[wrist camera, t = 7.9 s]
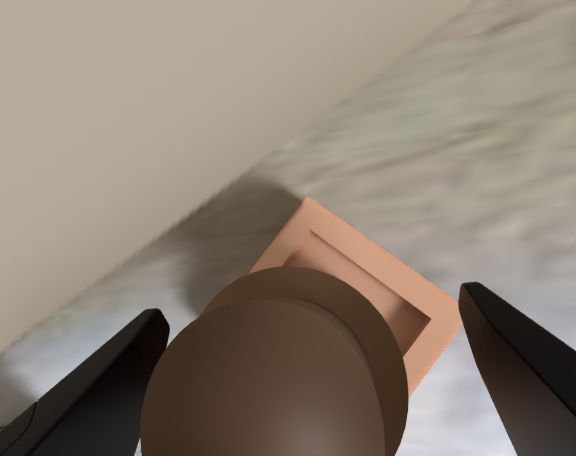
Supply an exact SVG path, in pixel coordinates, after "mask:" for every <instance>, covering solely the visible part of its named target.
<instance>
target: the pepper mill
mask: <svg viewBox="0 0 576 456" xmlns="http://www.w3.org/2000/svg"><path fill="white" fill-rule="evenodd" d="M408 397H409V391H408V381H407V373H406V369H405V364H404V360H403V357H402V354H401V351H400V348H399V345H398V343H397V341H396V339H395V337H394V335H393V333H392V331H391V329H390V327H389V325H388V324H387V322H386V321H385V319H384V318H383V316H382V315H381V314H380V312H379V311H378V310H377V309H376V308H375V307H374V305H373V304H372V303H371V302H370V301H369V300H368V299H367V298H366V297H364V296H363V295H362V294H361V293H360V292H359V291H358V290H356V289H355V288H353V287H352V286H350V285H349V284H348V283H346V282H344V281H342V280H340V279H338V278H337V277H335V276H333V275H330V274H327V273H325V272H322V271H319V270H315V269H310V268H306V267H296V266H281V267H273V268H267V269H262V270H259V271H256V272H253V273H250V274H248V275H246V276H244V277H242V278H240V279H238V280H236V281H235V282H233V283H232V284H230V285H229V286H227V287H226V288H225V289H224V290H222V291H221V292H220V293H219V294H218V295H217V296H216V297H215V298H214V299H213V300H212V301H211V302H210V303H209V304H208V305H207V307H206V308H205V310H204V311H203V312H202V314H201V315H200V317H199V318H197V319H196V320H194V321H193V322H191V323H190V324H189V325H188V326H187V327H185V328H184V329H183V330H182V331H181V332H180V333H179V334H178V335H177V336H176V337H175V338H174V339H173V340H172V342H171V343H170V344H169V345H168V347H167V348H166V350H165V351H164V352H163V354H162V355H161V357H160V359H159V361H158V363H157V365H156V366H155V368H154V370H153V373H152V375H151V378H150V380H149V383H148V386H147V390H146V393H145V397H144V401H143V407H142V413H141V427H140V439H141V452H142V456H395V454H396V452H397V449H398V447H399V445H400V443H401V439H402V436H403V433H404V430H405V426H406V420H407V414H408Z"/></svg>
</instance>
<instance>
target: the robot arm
mask: <svg viewBox="0 0 576 456" xmlns="http://www.w3.org/2000/svg"><path fill="white" fill-rule="evenodd" d="M458 308H459V313H460V316H461V319H462V322H463V325H464V328H465V331H466V335H467V338H468V341H469V344H470V347H471V350H472V353H473V356H474V359H475V362H476V365H477V367H478V370H479V372H480V374H481V376H482V379H483V381H484V383H485V385H486V387H487V390H488V392H489V394H490V396H491V398H492V401H493V403H494V405H495V407H496V409H497V412H498V414H499V416H500V418H501V420H502V423H503V425H504V427H505V429H506V432H507V434H508V436H509V438H510V440H511V443H512V445H513V447H514V449H515V451H516V454H517V456H576V351H575V350H574V349H572V348H571V347H570V346H568V345H567V344H565V343H564V342H563V341H561V340H560V339H558V338H557V337H556V336H554V335H553V334H551V333H550V332H549V331H547V330H546V329H544V328H543V327H541V326H540V325H539V324H537V323H536V322H534V321H533V320H532V319H530V318H529V317H527V316H526V315H525V314H523V313H522V312H520V311H519V310H518V309H516V308H515V307H513V306H512V305H510V304H509V303H508V302H506V301H505V300H503V299H502V298H501V297H499V296H498V295H496V294H495V293H494V292H492V291H491V290H489V289H488V288H486V287H485V286H484V285H482V284H481V283H479V282H467V283H462V284H461V287H460V294H459V301H458ZM169 333H170V327H169V324H168V322H167V320H166V319H165V317H164V315H163V314H162V312H161V310H159V309H157V308H154V309H146V310H144V311H143V312H142V313H141V314H139V315H138V316H137V317H136V318H135V319H133V320H132V321H131V322H130V323H129V324H128V325H126V326H125V327H124V328H123V329H122V330H120V331H119V332H118V333H117V334H116V335H114V336H113V337H112V338H111V339H110V340H109V341H107V342H106V343H105V344H104V345H103V346H101V347H100V348H99V349H98V350H97V351H95V352H94V353H93V354H92V355H91V356H90V357H88V358H87V359H86V360H85V361H84V362H82V363H81V364H80V365H79V366H78V367H76V368H75V369H74V370H73V371H72V372H71V373H69V374H68V375H67V376H66V377H65V378H63V379H62V380H61V381H60V382H59V383H57V384H56V385H55V386H54V387H53V388H52V389H50V390H49V391H48V392H47V393H46V394H44V395H43V396H42V397H41V398H40V399H39V400H38V402H35V403H34V404H32V405H31V406H30V407H29V408H28V409H27V410H25V411H24V412H23V413H22V414H21V415H19V416H18V417H17V418H16V419H15V420H13V421H12V422H11V423H10V424H8V425H7V426H6V427H5V428H4V429H2V430H1V431H0V456H134V454H135V451H136V448H137V445H138V442H139V439H140V427H141V413H142V407H143V401H144V397H145V393H146V390H147V386H148V383H149V380H150V378H151V375H152V373H153V370H154V368H155V366H156V365H157V363H158V361H159V359H160V357H161V355H162V354H163V352H164V351H165V350H166V347H167V342H168V338H169Z"/></svg>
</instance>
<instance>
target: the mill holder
mask: <svg viewBox="0 0 576 456" xmlns="http://www.w3.org/2000/svg"><path fill="white" fill-rule="evenodd" d="M281 266H296V267H306V268H310V269H315V270H319V271H322V272H325V273H327V274H330V275H333V276H335V277H337V278H338V279H340V280H342V281H344V282H346V283H348V284H349V285H350V286H352V287H353V288H355V289H356V290H358V291H359V292H360V293H361V294H362V295H363V296H364V297H366V298H367V299H368V300H369V301H370V302H371V303H372V304H373V305H374V307H375V308H376V309H377V310H378V311H379V312H380V314H381V315H382V316H383V318H384V319H385V321H386V322H387V324H388V325H389V327H390V329H391V331H392V333H393V335H394V337H395V339H396V341H397V343H398V345H399V348H400V351H401V354H402V357H403V360H404V364H405V369H406V373H407V381H408V391H409V397H410V396H411V394H412V393H413V392H414V390H415V389H416V388H417V386H418V385H419V384H420V382H421V381H422V380H423V378H424V377H425V375H426V374H427V373H428V371H429V370H430V369H431V367H432V366H433V365H434V363H435V362H436V360H437V359H438V358H439V356H440V355H441V354H442V352H443V351H444V350H445V348H446V347H447V345H448V344H449V343H450V341H451V340H452V339H453V337H454V336H455V335H456V333H457V332H458V330H459V329H460V328H461V326H462V325H463V322H462V319H461V316H460V313H459V308H458V302H457V301H456V300H454V299H453V298H451V297H450V296H449V295H447V294H446V293H444V292H443V291H442V290H440V289H439V288H437V287H436V286H434V285H433V284H432V283H430V282H429V281H427V280H426V279H425V278H423V277H422V276H420V275H419V274H417V273H416V272H415V271H413V270H412V269H410V268H409V267H408V266H406V265H405V264H403V263H402V262H400V261H399V260H398V259H396V258H395V257H393V256H392V255H391V254H389V253H388V252H386V251H385V250H383V249H382V248H381V247H379V246H378V245H376V244H375V243H374V242H372V241H371V240H369V239H368V238H366V237H365V236H364V235H362V234H361V233H359V232H358V231H357V230H355V229H354V228H352V227H351V226H349V225H348V224H347V223H345V222H344V221H342V220H341V219H339V218H338V217H337V216H335V215H334V214H332V213H331V212H330V211H328V210H327V209H325V208H324V207H322V206H321V205H320V204H318V203H317V202H315V201H314V200H313V199H311V198H310V197H308V196H307V197H306V199H305V200H304V201H303V203H302V204H301V205H300V206H299V208H298V209H297V210H296V212H295V213H294V214H293V216H292V217H291V218H290V219H289V221H288V222H287V223H286V225H285V226H284V227H283V229H282V230H281V231H280V232H279V234H278V235H277V236H276V238H275V239H274V240H273V242H272V243H271V244H270V245H269V247H268V248H267V249H266V251H265V252H264V253H263V255H262V256H261V257H260V258H259V260H258V261H257V262H256V264H255V265H254V266H253V268H252V269H251V270H250V272H249V273H248V274H250V273H253V272H256V271H259V270H262V269H267V268H273V267H281ZM248 274H247V275H248ZM409 397H408V399H409Z"/></svg>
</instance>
